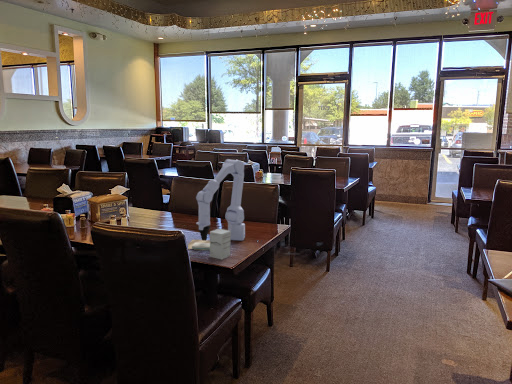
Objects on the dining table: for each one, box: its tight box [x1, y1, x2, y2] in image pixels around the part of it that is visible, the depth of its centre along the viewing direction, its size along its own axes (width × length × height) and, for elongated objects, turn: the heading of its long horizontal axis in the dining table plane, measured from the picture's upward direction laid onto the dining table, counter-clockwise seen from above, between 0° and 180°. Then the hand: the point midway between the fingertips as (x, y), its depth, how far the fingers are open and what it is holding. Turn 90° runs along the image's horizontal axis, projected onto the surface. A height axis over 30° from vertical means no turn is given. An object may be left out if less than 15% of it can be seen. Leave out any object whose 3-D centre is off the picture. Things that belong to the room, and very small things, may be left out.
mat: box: [187, 239, 210, 252], centre depth 196 cm, size 16×16×1 cm
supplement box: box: [209, 228, 231, 260], centre depth 178 cm, size 7×7×13 cm
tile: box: [192, 242, 210, 251], centre depth 191 cm, size 10×2×6 cm
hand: (204, 240), depth 193 cm, fingers closed
